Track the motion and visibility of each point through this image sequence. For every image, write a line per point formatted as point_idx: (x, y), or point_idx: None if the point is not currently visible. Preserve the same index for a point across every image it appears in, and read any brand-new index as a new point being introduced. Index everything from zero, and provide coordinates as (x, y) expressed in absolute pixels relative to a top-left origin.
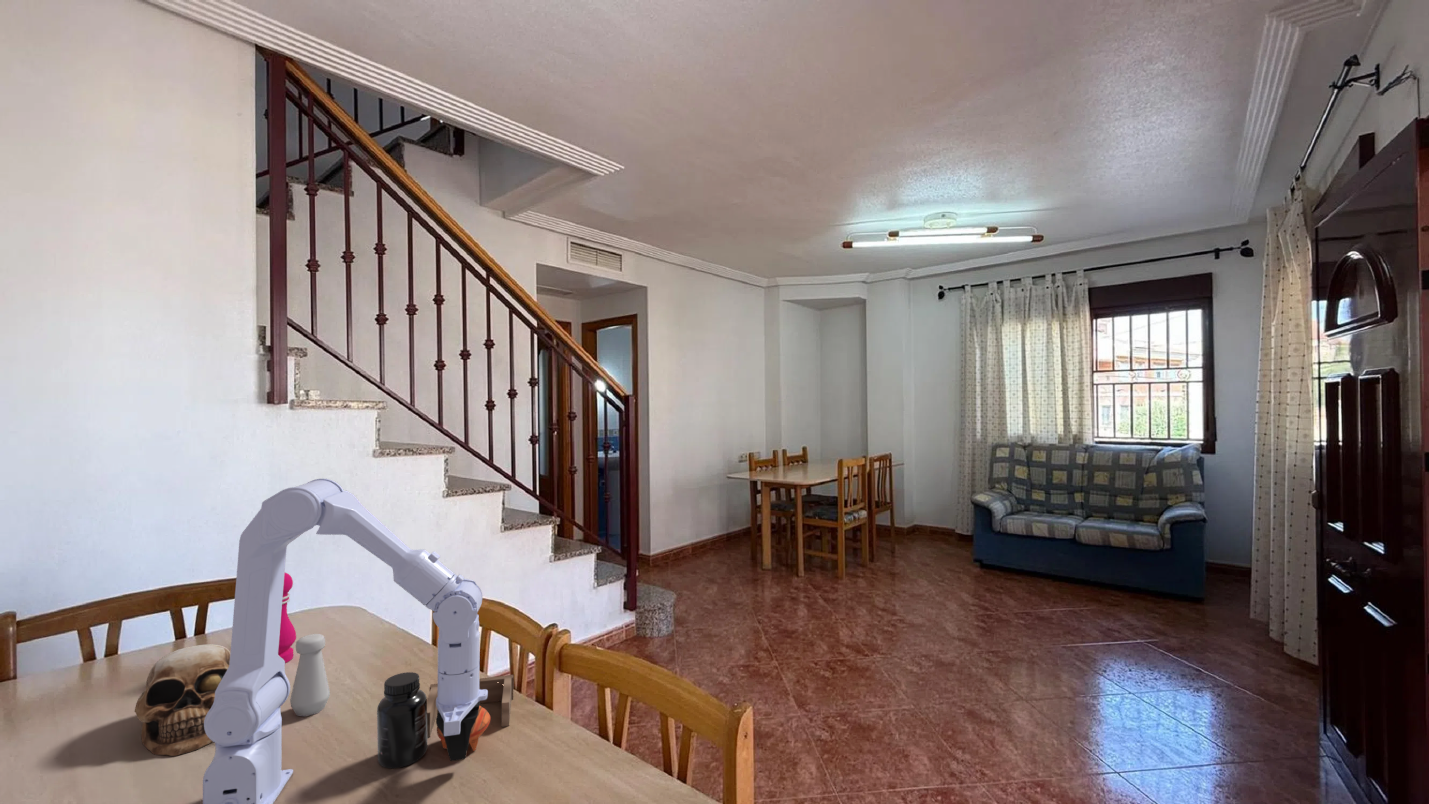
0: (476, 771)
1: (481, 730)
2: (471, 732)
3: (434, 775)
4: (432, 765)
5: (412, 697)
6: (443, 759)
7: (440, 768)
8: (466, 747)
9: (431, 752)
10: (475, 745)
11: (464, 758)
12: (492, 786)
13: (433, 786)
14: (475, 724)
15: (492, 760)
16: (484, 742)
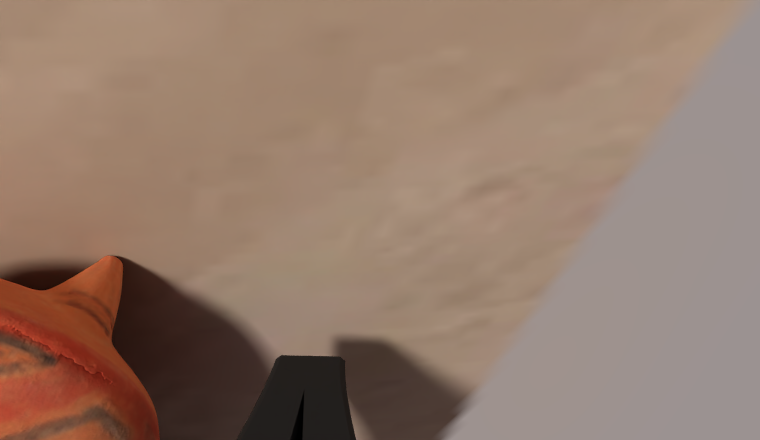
0: (364, 236)
1: (34, 335)
2: (97, 408)
3: None
4: (243, 415)
5: None
6: (195, 384)
7: None
8: (350, 428)
9: None
10: (112, 283)
11: (344, 361)
12: (585, 138)
13: (426, 397)
14: (8, 431)
15: (257, 145)
16: (4, 204)
